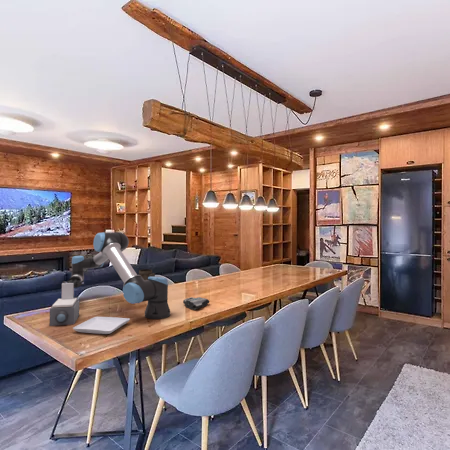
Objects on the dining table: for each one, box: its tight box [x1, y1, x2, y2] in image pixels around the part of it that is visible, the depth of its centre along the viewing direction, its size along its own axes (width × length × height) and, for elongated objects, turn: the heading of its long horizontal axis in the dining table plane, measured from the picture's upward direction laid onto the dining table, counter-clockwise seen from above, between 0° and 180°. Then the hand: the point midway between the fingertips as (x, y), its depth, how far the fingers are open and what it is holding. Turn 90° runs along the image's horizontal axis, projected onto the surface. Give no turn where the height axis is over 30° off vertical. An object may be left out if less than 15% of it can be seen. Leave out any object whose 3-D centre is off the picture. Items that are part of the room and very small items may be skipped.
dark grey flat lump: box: [182, 296, 210, 311], centre depth 216 cm, size 16×20×5 cm
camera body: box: [49, 299, 80, 327], centre depth 181 cm, size 20×12×9 cm, turn 16°
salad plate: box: [72, 316, 131, 335], centre depth 169 cm, size 21×21×3 cm
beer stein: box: [138, 268, 156, 280], centre depth 245 cm, size 15×11×20 cm
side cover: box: [51, 282, 78, 307], centre depth 182 cm, size 16×10×10 cm, turn 16°
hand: (68, 288), depth 193 cm, fingers closed
